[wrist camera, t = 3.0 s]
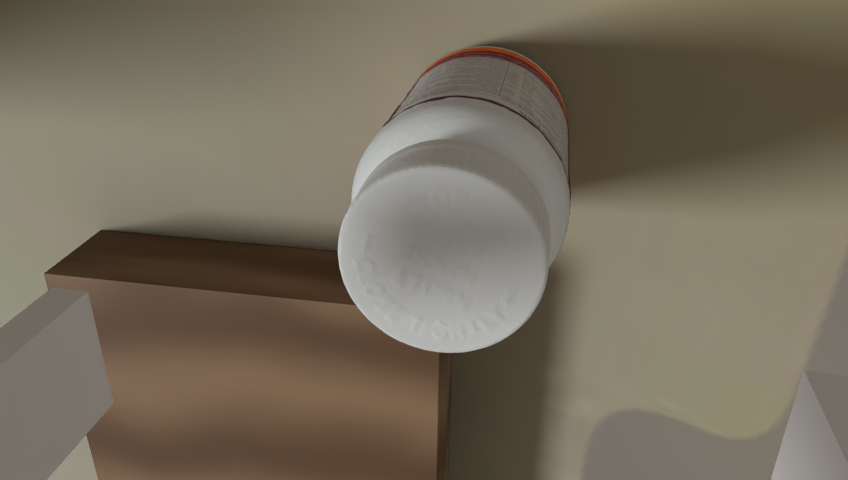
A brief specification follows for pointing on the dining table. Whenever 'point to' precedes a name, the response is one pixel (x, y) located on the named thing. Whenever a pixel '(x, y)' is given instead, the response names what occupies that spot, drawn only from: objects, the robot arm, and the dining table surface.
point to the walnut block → (250, 367)
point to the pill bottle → (460, 203)
